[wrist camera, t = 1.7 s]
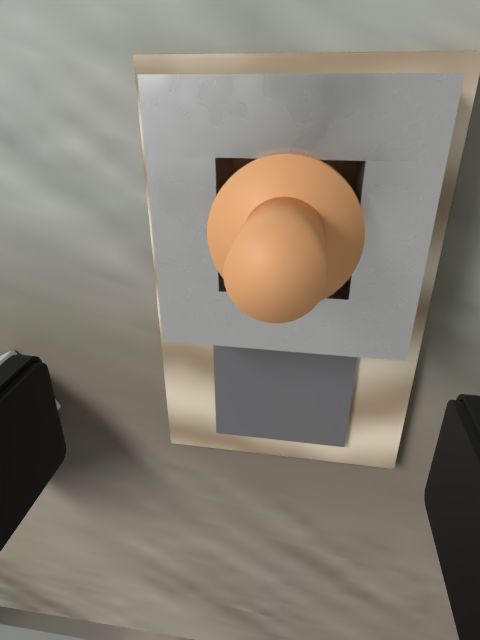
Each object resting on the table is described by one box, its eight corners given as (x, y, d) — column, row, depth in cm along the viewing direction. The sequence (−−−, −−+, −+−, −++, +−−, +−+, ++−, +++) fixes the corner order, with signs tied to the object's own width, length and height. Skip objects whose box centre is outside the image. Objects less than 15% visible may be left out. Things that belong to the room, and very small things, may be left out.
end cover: (228, 138, 26) (171, 173, 16) (364, 141, 25) (391, 179, 15) (229, 263, 29) (184, 352, 20) (349, 270, 28) (362, 368, 19)
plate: (139, 55, 25) (92, 49, 20) (478, 51, 23) (524, 43, 18) (174, 434, 39) (151, 490, 33) (392, 459, 36) (404, 523, 31)
